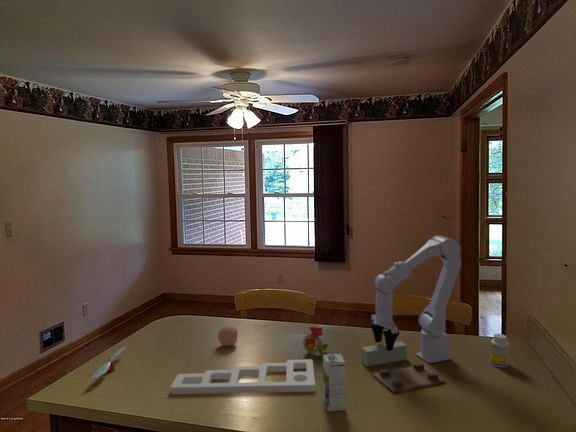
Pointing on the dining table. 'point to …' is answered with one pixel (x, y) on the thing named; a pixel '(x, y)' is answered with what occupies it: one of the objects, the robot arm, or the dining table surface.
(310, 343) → the bird rattle
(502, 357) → the supplement bottle
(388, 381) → the cradle board
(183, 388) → the holder
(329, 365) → the syrup box
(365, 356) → the block
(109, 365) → the propeller
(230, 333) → the toy ball
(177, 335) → the dining table surface
